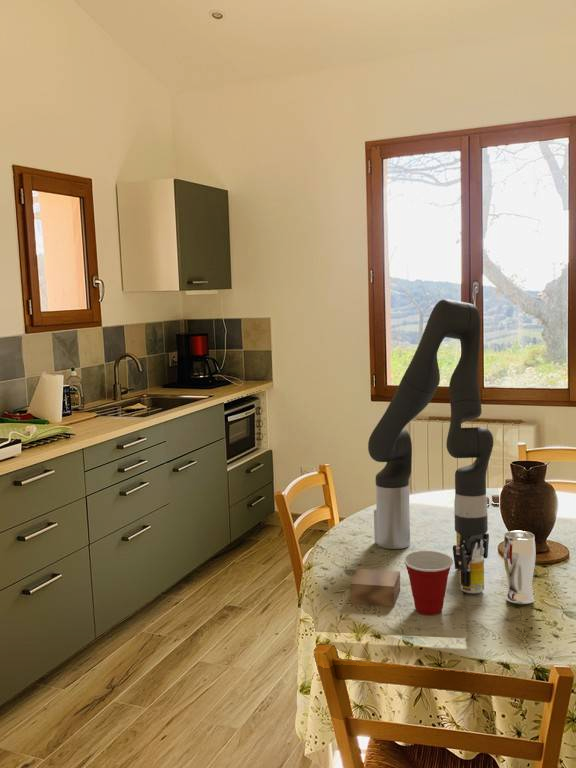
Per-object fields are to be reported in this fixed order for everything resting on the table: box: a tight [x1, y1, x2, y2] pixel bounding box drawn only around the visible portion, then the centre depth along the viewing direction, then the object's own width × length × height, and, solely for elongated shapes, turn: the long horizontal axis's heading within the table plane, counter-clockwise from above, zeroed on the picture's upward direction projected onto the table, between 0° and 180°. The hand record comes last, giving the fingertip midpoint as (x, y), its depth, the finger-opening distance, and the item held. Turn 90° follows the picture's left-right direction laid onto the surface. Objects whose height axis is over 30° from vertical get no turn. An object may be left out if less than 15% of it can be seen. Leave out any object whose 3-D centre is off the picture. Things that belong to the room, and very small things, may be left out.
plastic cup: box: [402, 549, 454, 616], centre depth 166 cm, size 11×11×12 cm
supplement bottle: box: [459, 547, 485, 594], centre depth 177 cm, size 6×6×10 cm
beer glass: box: [503, 530, 537, 605], centre depth 170 cm, size 7×7×15 cm
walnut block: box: [349, 568, 401, 608], centre depth 175 cm, size 10×10×5 cm
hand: (471, 581), depth 177 cm, fingers closed on supplement bottle, 5 cm apart
